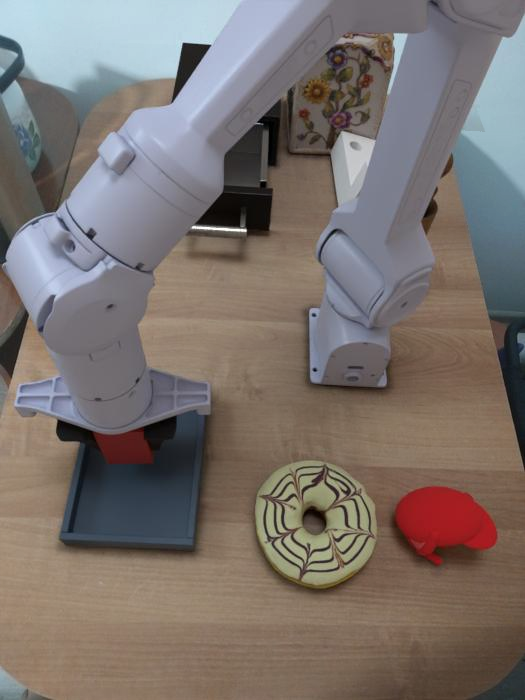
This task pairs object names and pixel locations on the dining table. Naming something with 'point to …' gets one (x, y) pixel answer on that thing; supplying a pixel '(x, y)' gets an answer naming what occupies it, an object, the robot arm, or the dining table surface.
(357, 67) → the decorative jar
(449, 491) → the cap
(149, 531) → the tray
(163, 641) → the dining table surface
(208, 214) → the drawer
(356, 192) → the bracket
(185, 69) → the black drawer cabinet
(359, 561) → the decorated donut
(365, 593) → the dining table surface
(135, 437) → the red block
